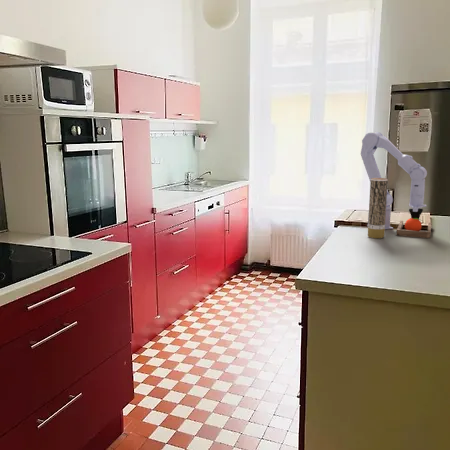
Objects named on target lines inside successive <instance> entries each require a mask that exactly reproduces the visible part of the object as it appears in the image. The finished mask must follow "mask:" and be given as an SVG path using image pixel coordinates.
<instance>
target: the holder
mask: <svg viewBox="0 0 450 450" xmlns="http://www.w3.org/2000/svg"><path fill="white" fill-rule="evenodd" d="M403 226H404V220H400V221H399V224H398V226H397V228H396V235H395V236H397V237H398V236H400V237H410V238H411V237H412V238H420V239H421V238H422V239H423V238H424V239H431V233H432V231H431V230H432V222H428V225H427V231H425V230H420V231H413V230H406V229H403Z"/></svg>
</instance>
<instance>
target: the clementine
mask: <svg viewBox="0 0 450 450" xmlns="http://www.w3.org/2000/svg"><path fill="white" fill-rule="evenodd" d="M404 230H413V231H422V219H421V218H419V220H418V218H408V219H407V220H406V221H405V223H404Z"/></svg>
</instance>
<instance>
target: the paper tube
mask: <svg viewBox="0 0 450 450" xmlns="http://www.w3.org/2000/svg"><path fill="white" fill-rule="evenodd" d="M369 185H370V187H369V204H368V205H369V206H368V213H369V219H368V218H367V225H368V226H367V237H368V238H371V239H377V240H378V239H383V238H384V237H385V232H386V231H385V230H386V229H385V217H386V200H387V190H388V185H389V184H388V178H386V177H381V178H371V181H370V180H369Z"/></svg>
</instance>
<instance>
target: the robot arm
mask: <svg viewBox="0 0 450 450" xmlns="http://www.w3.org/2000/svg"><path fill="white" fill-rule="evenodd" d="M361 143H362V145H361V150H360V156H361V160H362V162H363V165H364V167H365V170H366V175H367V176H368V180H369V182H370V181H371V178H382V175H381V173H380V170H379V167H378V164H377V161H376V159H375V156H374V155H375V152H376V150H377V149H378V148H381V149H384V150H385V151H386V152H388V153H389V154H390V155H391V156H393V157H394V158H395V159H396V160H397V165H398V166H399V167H400V168H401V169H403V170H404V171H405V172H406V173H407V174H408V175H409V177H410V179H411V181H410V182H411V183H410V192H409V193H410V194H409V204H408V207H410V208H409V209H408V212H409V214H410V217H411V218H418V220H419V219H420V217H421V214H422V213H423V211H424V208H426V207H427V204H424V201H425V189H426V179H425V178H426V177H427V175H428V171H427V169H426V168H425V167H424V166H421V164H420V163H418V162H416V160H415V159H414V157H413V156H412V155H409V154H404V153H402V151H400V150H399V149H398V147H396V145H394V144H393V142H391V141H390V139H389V138H388V137H387V136H385V135H383V133H382V132H379V131H375V132H368V133H366V134H365V135H364V137H363V138H362V139H361ZM393 202H394V198H393V196H392V195H391V194H390V192H389V190H388V189H387V200H386V217H385V230H393V229H394V227H392V226H391V214H392V207H391V205H392V204H393ZM368 219H369V212H368V216H367V220H368ZM419 221H420V220H419ZM366 226H367V227H368V224H367V225H366Z"/></svg>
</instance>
